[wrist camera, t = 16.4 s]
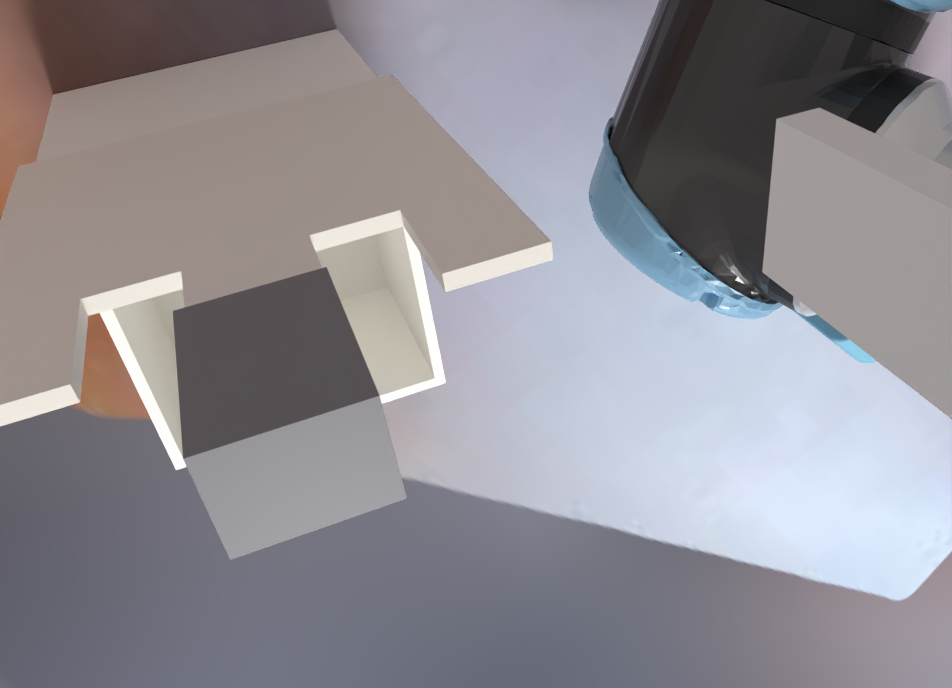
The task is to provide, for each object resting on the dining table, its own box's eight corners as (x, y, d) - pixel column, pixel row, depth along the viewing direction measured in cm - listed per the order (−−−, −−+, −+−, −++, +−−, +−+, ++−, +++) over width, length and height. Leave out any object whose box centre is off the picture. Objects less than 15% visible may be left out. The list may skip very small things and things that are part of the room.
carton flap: (37, 204, 36) (5, 139, 35) (399, 112, 39) (386, 48, 38) (-80, 668, 17) (-167, 570, 15) (657, 411, 20) (655, 306, 18)
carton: (53, 94, 45) (32, 175, 36) (337, 28, 48) (386, 87, 39) (168, 355, 56) (176, 470, 46) (395, 287, 59) (445, 382, 50)
